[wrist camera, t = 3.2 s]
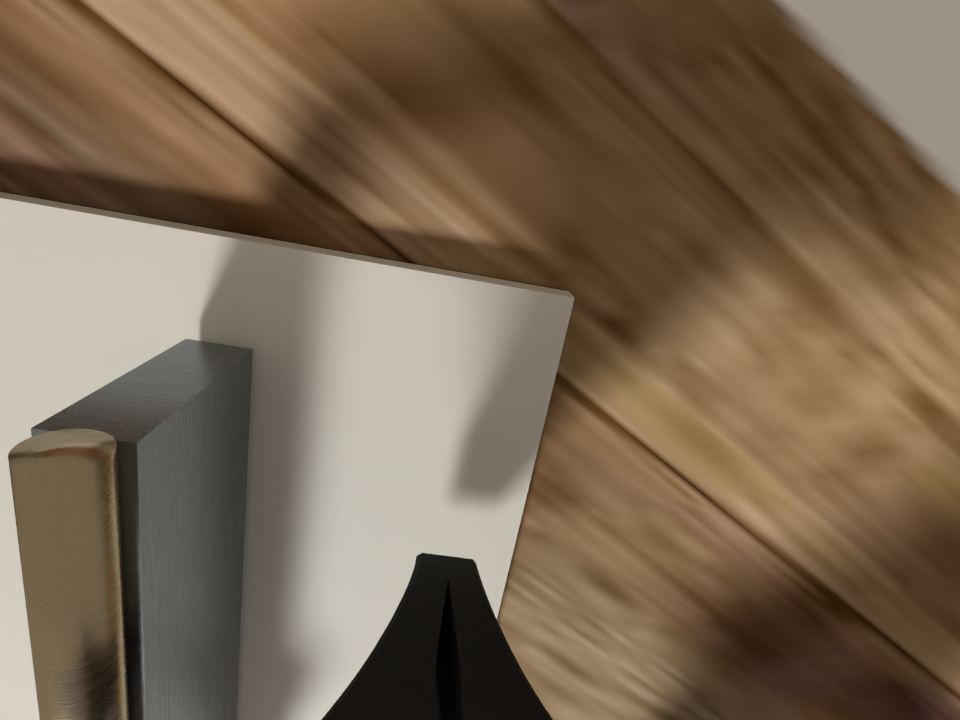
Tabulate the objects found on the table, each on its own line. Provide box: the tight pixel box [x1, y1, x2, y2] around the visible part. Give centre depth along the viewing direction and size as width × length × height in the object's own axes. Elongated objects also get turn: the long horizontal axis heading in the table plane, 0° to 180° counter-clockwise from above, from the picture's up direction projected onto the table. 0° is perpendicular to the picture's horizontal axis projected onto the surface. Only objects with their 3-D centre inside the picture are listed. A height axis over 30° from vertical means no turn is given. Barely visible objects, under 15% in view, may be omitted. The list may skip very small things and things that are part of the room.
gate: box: [8, 339, 253, 720], centre depth 12 cm, size 2×14×6 cm, turn 170°
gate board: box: [0, 192, 575, 720], centre depth 16 cm, size 18×24×1 cm
